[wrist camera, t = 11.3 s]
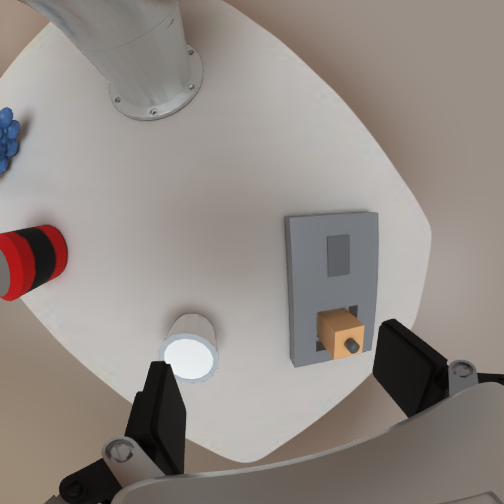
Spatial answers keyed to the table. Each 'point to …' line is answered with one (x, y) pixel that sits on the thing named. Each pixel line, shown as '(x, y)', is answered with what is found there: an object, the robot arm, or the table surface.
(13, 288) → the soda can
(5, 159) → the grapes
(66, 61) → the table surface
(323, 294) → the socket plate
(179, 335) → the white short cylinder
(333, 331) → the block
